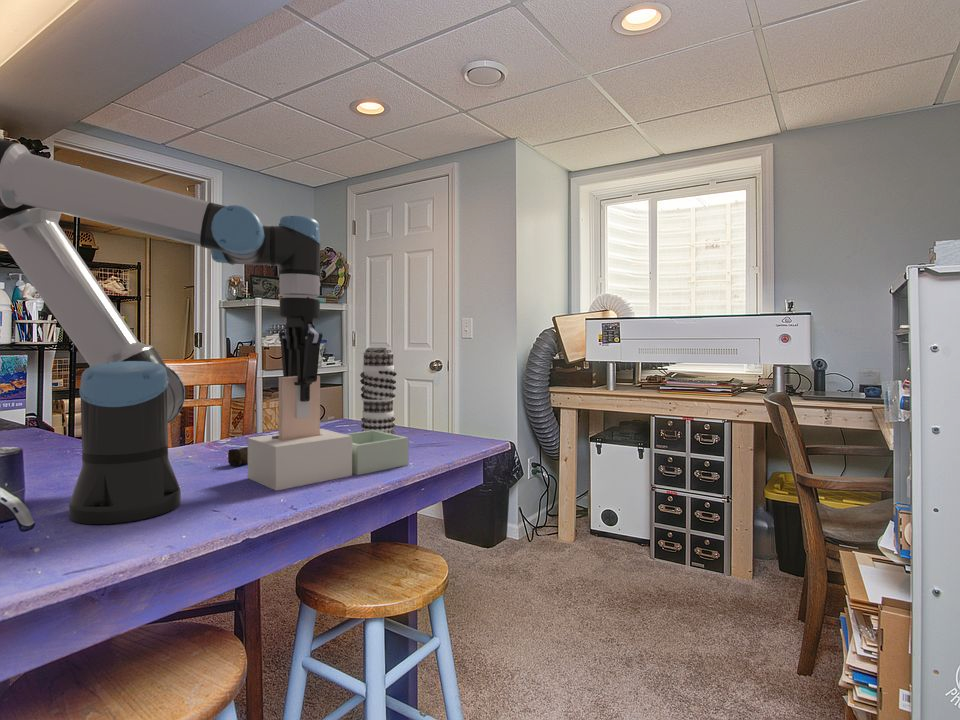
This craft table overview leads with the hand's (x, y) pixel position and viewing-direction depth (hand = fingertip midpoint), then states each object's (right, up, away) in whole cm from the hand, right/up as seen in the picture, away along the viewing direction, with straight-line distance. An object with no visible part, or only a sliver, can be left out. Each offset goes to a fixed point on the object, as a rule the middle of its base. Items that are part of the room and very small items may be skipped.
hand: (299, 417), depth 111 cm
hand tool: (-13, -11, +17) cm, 24 cm away
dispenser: (0, -12, +1) cm, 12 cm away
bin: (+11, -12, +12) cm, 20 cm away
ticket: (0, -8, 0) cm, 8 cm away
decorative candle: (+9, -11, +33) cm, 36 cm away
